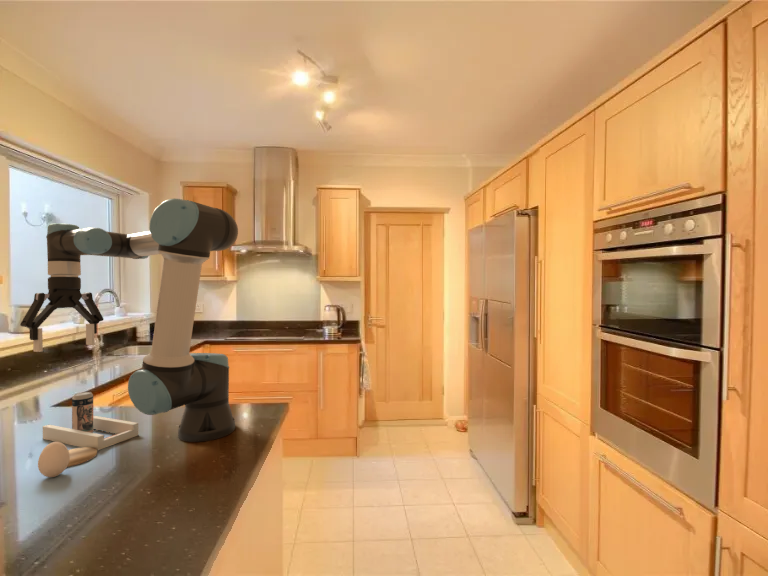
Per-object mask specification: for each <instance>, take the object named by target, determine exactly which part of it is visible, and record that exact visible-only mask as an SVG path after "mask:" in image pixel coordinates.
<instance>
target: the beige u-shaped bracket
mask: <svg viewBox="0 0 768 576" xmlns="http://www.w3.org/2000/svg"><path fill="white" fill-rule="evenodd" d="M93 429H96V430H95V431H98V430H103V431H106V432H105V433H109V432H110V433H109V434H112V435H110V436H108V437H105V435H104V434H100V433H96V432H95V433H94V432H93V433H91V432H85V431H80V430H75V429H72V428H70V427H64V426H58V425H53V424H47V425H43V426H42V439H43V440H47V441H52V442H61V443H63V444H64V445H69V446H70V445H71V446H75V447H78V448H82V447H92V448H96V449H97V451H100V450H103V449H105V448H108V447H110V446H111V447H112V446H113V445H116V444H119V443H121V442H125V441H127V440H130V439H132V438H135V437H137V436H139V422H134V421H129V420H122V419H118V418H117V419H116V418H111V417H110V418H109V417H104V416H99V415H98V416H97V415H93ZM103 431H102V432H103ZM114 433H115V434H114Z"/></svg>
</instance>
